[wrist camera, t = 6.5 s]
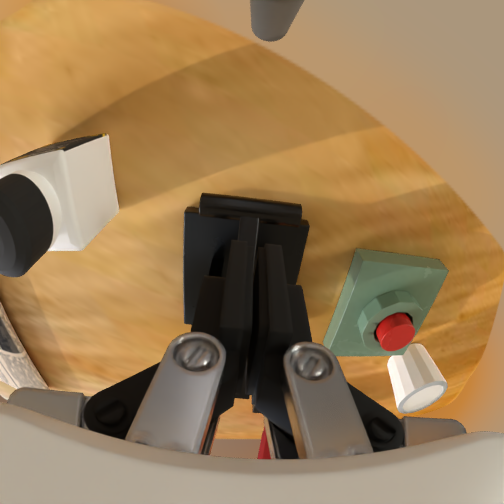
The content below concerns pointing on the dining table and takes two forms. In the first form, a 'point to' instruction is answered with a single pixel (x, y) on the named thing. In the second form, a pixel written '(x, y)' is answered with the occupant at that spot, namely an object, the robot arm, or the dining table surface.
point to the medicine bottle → (54, 200)
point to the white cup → (415, 379)
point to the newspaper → (16, 359)
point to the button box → (381, 299)
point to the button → (395, 331)
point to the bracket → (218, 249)
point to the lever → (249, 222)
